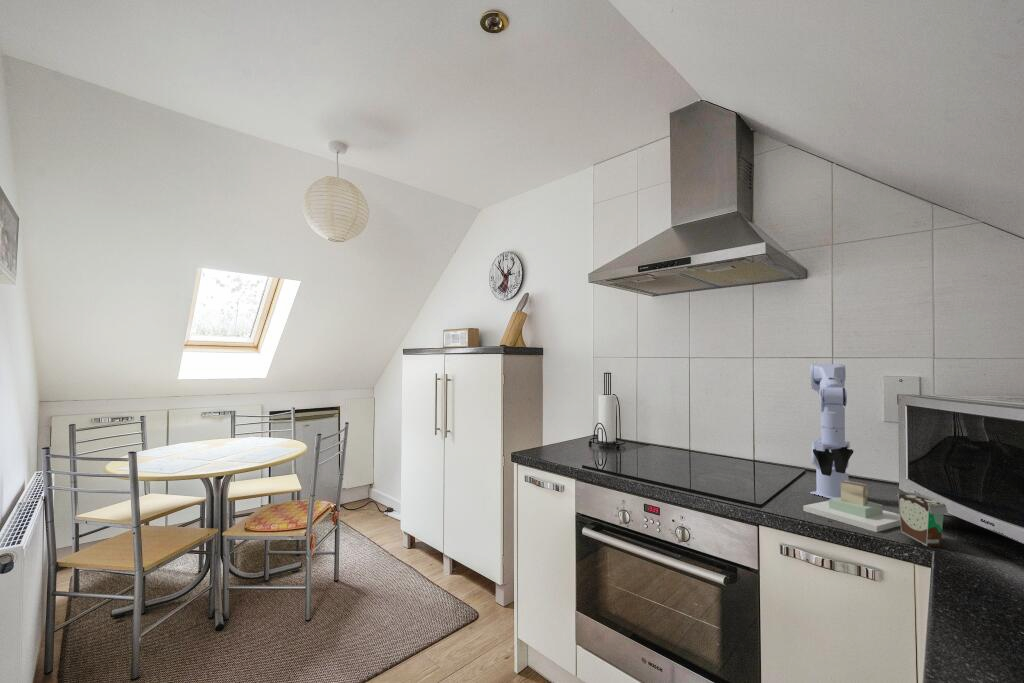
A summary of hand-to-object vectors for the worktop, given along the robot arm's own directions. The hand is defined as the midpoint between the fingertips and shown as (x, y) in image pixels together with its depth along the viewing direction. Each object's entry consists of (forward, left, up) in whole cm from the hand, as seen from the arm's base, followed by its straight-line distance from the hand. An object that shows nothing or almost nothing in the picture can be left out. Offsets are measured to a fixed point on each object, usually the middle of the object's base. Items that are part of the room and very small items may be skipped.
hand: (833, 473), depth 133 cm
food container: (+4, +23, -11) cm, 26 cm away
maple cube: (+1, +6, -6) cm, 9 cm away
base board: (+1, +6, -10) cm, 12 cm away
